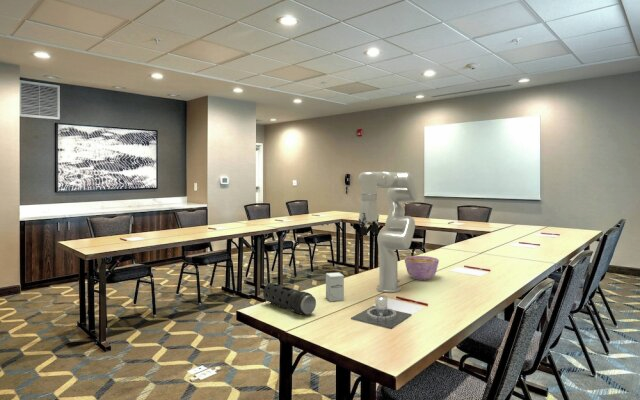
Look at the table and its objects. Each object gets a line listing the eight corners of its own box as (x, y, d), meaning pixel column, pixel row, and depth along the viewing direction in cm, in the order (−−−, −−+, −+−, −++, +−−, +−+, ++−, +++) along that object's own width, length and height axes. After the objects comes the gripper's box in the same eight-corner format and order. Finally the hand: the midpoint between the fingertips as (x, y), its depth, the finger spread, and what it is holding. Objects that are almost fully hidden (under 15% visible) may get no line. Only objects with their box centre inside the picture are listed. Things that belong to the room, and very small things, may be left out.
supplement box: (329, 302, 189) (329, 276, 188) (325, 297, 196) (325, 272, 195) (344, 300, 191) (344, 275, 190) (339, 296, 198) (339, 271, 197)
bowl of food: (398, 275, 237) (398, 257, 237) (426, 273, 243) (426, 254, 243) (415, 284, 218) (415, 263, 218) (445, 281, 224) (446, 261, 223)
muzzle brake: (278, 301, 192) (278, 280, 191) (317, 314, 171) (317, 291, 171) (262, 305, 185) (262, 284, 185) (301, 320, 165) (301, 296, 164)
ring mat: (373, 307, 180) (373, 302, 180) (411, 315, 169) (411, 310, 169) (350, 319, 165) (350, 314, 165) (391, 329, 154) (391, 323, 154)
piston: (379, 312, 171) (379, 294, 170) (389, 314, 168) (389, 296, 167) (373, 315, 167) (373, 297, 166) (383, 318, 164) (383, 300, 163)
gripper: (371, 197, 193) (371, 231, 194) (352, 198, 180) (352, 235, 180) (384, 197, 189) (384, 232, 190) (366, 199, 175) (366, 237, 176)
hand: (369, 234), depth 185 cm, fingers open, 9 cm apart
